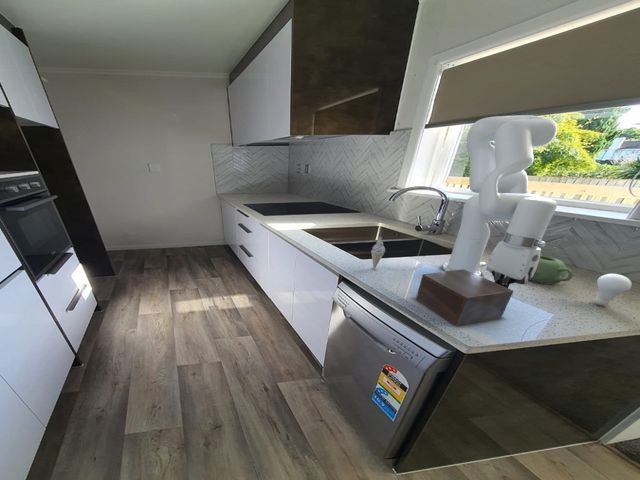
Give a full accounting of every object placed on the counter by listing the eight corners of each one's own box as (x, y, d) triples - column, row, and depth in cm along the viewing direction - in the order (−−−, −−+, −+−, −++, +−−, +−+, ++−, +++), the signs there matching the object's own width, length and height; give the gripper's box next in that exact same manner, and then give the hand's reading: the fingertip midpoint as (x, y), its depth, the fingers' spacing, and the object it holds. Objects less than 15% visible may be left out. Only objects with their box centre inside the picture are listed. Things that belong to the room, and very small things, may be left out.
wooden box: (455, 293, 86) (463, 269, 83) (501, 318, 73) (513, 290, 69) (415, 299, 83) (422, 274, 79) (456, 326, 70) (467, 297, 66)
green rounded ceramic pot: (504, 270, 102) (513, 251, 99) (535, 270, 102) (545, 251, 99) (546, 290, 88) (557, 268, 84) (582, 290, 87) (595, 268, 84)
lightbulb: (579, 300, 82) (596, 270, 77) (595, 299, 82) (613, 270, 78) (604, 310, 76) (625, 280, 72) (621, 309, 76) (643, 279, 72)
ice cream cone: (382, 272, 102) (389, 238, 96) (369, 271, 103) (375, 238, 97) (378, 267, 107) (385, 234, 101) (366, 266, 108) (372, 234, 102)
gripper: (564, 247, 66) (534, 304, 74) (502, 232, 80) (482, 280, 87) (543, 250, 65) (515, 307, 72) (484, 233, 78) (466, 283, 86)
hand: (497, 292), depth 80 cm, fingers closed
